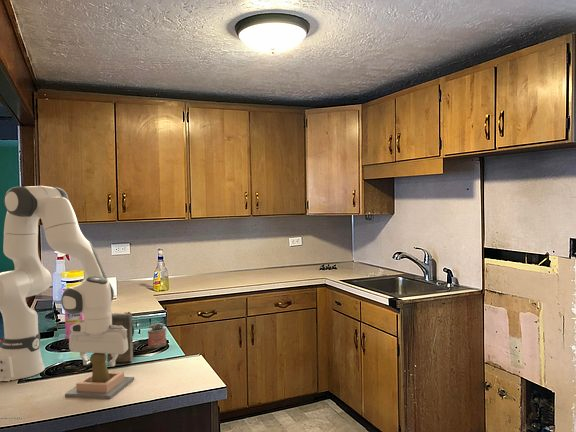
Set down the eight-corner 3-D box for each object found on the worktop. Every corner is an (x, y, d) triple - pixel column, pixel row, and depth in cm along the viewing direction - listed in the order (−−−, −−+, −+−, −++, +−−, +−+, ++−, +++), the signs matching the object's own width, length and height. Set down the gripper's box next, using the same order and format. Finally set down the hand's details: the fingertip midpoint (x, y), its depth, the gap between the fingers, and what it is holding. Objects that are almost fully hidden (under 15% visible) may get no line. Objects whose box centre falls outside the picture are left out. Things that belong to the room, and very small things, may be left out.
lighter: (164, 343, 207) (163, 321, 207) (167, 345, 205) (167, 322, 204) (147, 347, 202) (146, 324, 202) (150, 349, 200) (149, 326, 199)
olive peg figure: (114, 382, 160) (111, 350, 159) (99, 389, 155) (95, 357, 154) (103, 379, 163) (100, 348, 163) (88, 386, 158) (84, 354, 158)
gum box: (78, 325, 241) (77, 299, 241) (94, 324, 243) (93, 298, 242) (65, 339, 218) (64, 310, 217) (83, 338, 219) (82, 309, 219)
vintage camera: (142, 352, 198) (140, 305, 198) (131, 363, 182) (129, 312, 182) (119, 353, 198) (117, 306, 198) (106, 364, 182) (104, 313, 182)
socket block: (65, 396, 153) (64, 386, 153) (93, 377, 168) (93, 368, 168) (110, 399, 150) (109, 388, 150) (134, 379, 166) (134, 370, 166)
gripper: (131, 323, 160) (132, 363, 160) (77, 321, 163) (78, 360, 164) (121, 328, 154) (122, 370, 154) (65, 326, 157) (66, 366, 158)
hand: (99, 365), depth 159 cm, fingers open, 8 cm apart
